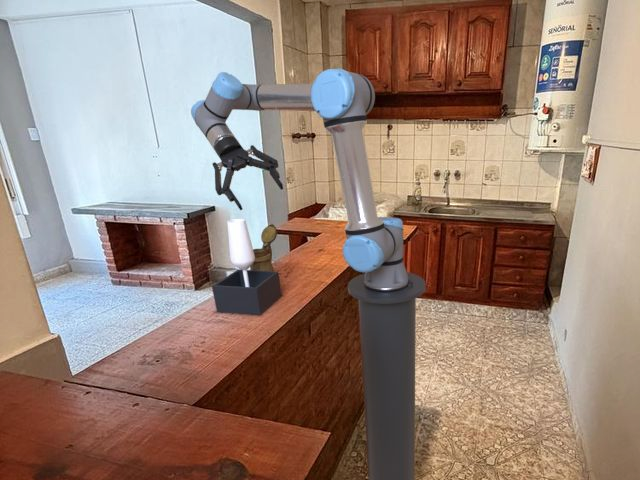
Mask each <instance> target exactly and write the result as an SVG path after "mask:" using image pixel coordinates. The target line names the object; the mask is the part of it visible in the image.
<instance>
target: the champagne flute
mask: <svg viewBox="0 0 640 480" xmlns="http://www.w3.org/2000/svg"><path fill="white" fill-rule="evenodd" d="M226 223H227V235H228V237H227V238H228V246H229V247H228V248H229V260H230V263H231V264H232V265H233V266H234V267H236V268H237V269H238V270H243V276H244V281H245V287H250V286H249V280H248V274H247V270H249V269H250V266H251V265H252V264H253V262H254V260H255V255H254V251H253V249H254V247H253V244H252V240H251V236H250V232H249V228H248V224H247V220H246V219H245V218H232V219H229V220H227V222H226Z"/></svg>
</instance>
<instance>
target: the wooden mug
mask: <svg viewBox="0 0 640 480" xmlns="http://www.w3.org/2000/svg"><path fill="white" fill-rule="evenodd" d="M260 235H261V236H260V238H261V242H262V243H263V244H262V247H261V248H253V251H254V255H255V260H254V262H253V264H252V265H251V266H250V267H249V270H254V271H275V269H274V266H273V263H272V259H273V250H272V246H271V244H273V242H274V241H275V240H276V238H277V236H278V229H277V227H276V226H275V224H273V223H271V224H269V225H267V226H266V227H265V228H264V229H263V230H262V231H261V234H260Z"/></svg>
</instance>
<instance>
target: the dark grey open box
mask: <svg viewBox="0 0 640 480" xmlns="http://www.w3.org/2000/svg"><path fill="white" fill-rule="evenodd" d="M247 274H248V280H249V286H250V287H245V281H244V276H243V270H241V269H237V270H235V271H233V272H231V273H230V274H229V275H227V276H225V277H223V278H222V279H220V280H219V281H217V282H216V283H214V284H213V285H211V290H212V295H213V298H214V304H215V309H216V313H228V314H242V315H254V316H261V315H263V313H265V312H266V311H267V310H268V309H269V308H270V307H271V306H272V305H273V304H274V303H276V301H278V300H279V299H280V298H281V297H282V288H281V282H280V273H279V271H275V270H274V271H254V270H250V269H247Z"/></svg>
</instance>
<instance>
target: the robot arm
mask: <svg viewBox="0 0 640 480" xmlns="http://www.w3.org/2000/svg"><path fill="white" fill-rule="evenodd" d="M375 101H376V92H375V88H374V86H373V84H372V83H371V81H370V80H369V79H368V78H367V77H366V76H364V75H363V74H362V73H361V74H360V73H357V72H352V71H348V70H345V69H343V68H329V69H325V70H323V71H322V72H320V73H318V75H317V77H316V78H315V79H314V81H313V83H269V84H258V83H257V84H250V83H249V84H248V83H242V82H241V81H240V80H239V78H237V77H236V76H235V75H233V74H230V73H228V72H227V71H220V72H219V73H218V74H217V75H216V77H215V79H214V80H213V81H212V83H211V86H210V88H209V91H208V93H207V95H206V97H205V99H201V100H198V101H196V103H195V104H192V106H191V109H190V115H191V117H192V119H193V121H194V123H195V125H196V126H197V128H198V129H199V131H200V132H201V133H202V134H203V136H204V137H205V138H206V140H207V141H208V143H209V145H210V146H211V147H212V149H213V151H214V152H215V154H216V155H217V157H218V158H219V160H220V162H216V161H214V162H212V167H213V169H214V189H215V192H216V194H217V196H222V195H225V196H226V198H227V199H228V201H229V202H230V203H232V202H234V204H235V205H236V206H237V208H238V209H239V211H242V210H243V206H242V204H241V202H240V201H239V199H238V198H237V197H236V195H235V193H234V192H233V191H232V189H231V184H232V180H233V177H234V174H235V172H239V171H241V170H242V169H246V168H247V166H248V167H251V168H252V167H254V168H257V169H260V170H265V171H266V172H267V171H268V172H269V175H270V176H271V178H272V179H273V181H274V182H275V183H276V185H277V186H278V188H279V189H280V190H281V191H283V189H284V185H283V182H282V181H281V180H280V179H281V176H280V173H279V172H278V170H277V169H278V168H279V161H278V160H277V159H275V157H272V156H270V155H268V154H266V153H264V152H263V151H261V150H259V149H257V148H256V146H255V145H254V144H251V145H250V146H249V147H250V148H248V149H247V150H246V149H244V147H243V146H242V145H241V143H240V141H239V140H238V139H237V137H236V136H235V135H234V133H233V132H232V131H231V129H230V128H229V126H228V124H227V123H226V121H227V120H228V118H229V117H230V115H231V113H232V112H233V110H234V111H235V110H236V111H242V110H243V111H255V112H256V111H257V112H260V111H293V112H295V111H299V112H300V111H301V112H305V111H306V112H316V113H317V114H318V115H319V116H320V117H321V118H322V122H323V127H324V130H325V131H326V132H327V133H329V134H330V135H331V139H332V143H333V149H334V154H335V158H336V164H337V169H338V174H339V175H338V176H339V180H340V184H341V189H342V193H343V194H342V195H343V199H344V204H345V210H346V216H347V223H346V225H345V227H344V232H345V237H346V240H345V241H344V243H343V246H342V257H343V259H344V262H346V264H347V265H348V266H349V267H350V268H352V269H353V270H354V271H357V272H359V273H363V274H365V280H364V284H365V287H366V288H368V289H369V290H372V291H376V292H395V291H399V290H402V289H404V288H406V287H407V286H408V285H409V283H410V284H411V285H412V284H413V282H412V281H410V280H409V278H408V275H407V272H408V271H407V268H406V266H405V264H404V263H405V262H404V223H403V220H402V219H401V218H399V217H391V216H390V217H388V216H378V211H377V205H376V199H375V194H374V187H373V182H372V176H371V171H370V163H369V159H368V152H367V147H366V139H365V134H364V128H365V126H366V125H367V123H368V120H367V115H368V114H369V113H370V112H371V111H372V109H373V107H374V104H375ZM250 155H251V156H250ZM252 156H253V157H255V158H253V157H252ZM256 158H257V159H256ZM223 168H225V169H226V171H225V176H224V180H223V183H222V173H221V172H222V170H223Z"/></svg>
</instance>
